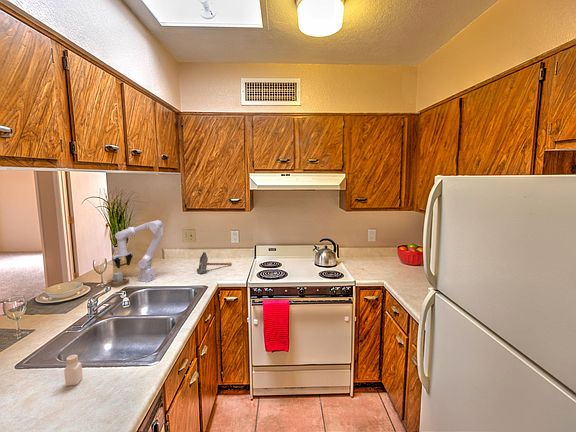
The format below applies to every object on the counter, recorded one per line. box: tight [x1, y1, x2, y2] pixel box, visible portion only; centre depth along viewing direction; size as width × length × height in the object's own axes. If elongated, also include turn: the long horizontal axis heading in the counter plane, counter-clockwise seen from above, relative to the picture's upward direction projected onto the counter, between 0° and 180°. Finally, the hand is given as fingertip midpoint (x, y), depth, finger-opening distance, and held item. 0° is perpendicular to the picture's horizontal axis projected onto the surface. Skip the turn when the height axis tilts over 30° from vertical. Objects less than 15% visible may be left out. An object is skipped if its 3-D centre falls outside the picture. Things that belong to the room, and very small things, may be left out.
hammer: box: [196, 251, 232, 274], centre depth 234 cm, size 6×16×30 cm
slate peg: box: [112, 271, 124, 283], centre depth 199 cm, size 4×4×8 cm
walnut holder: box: [106, 277, 130, 289], centre depth 200 cm, size 9×9×3 cm
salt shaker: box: [63, 354, 83, 387], centre depth 102 cm, size 4×4×10 cm
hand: (123, 266), depth 208 cm, fingers open, 7 cm apart
